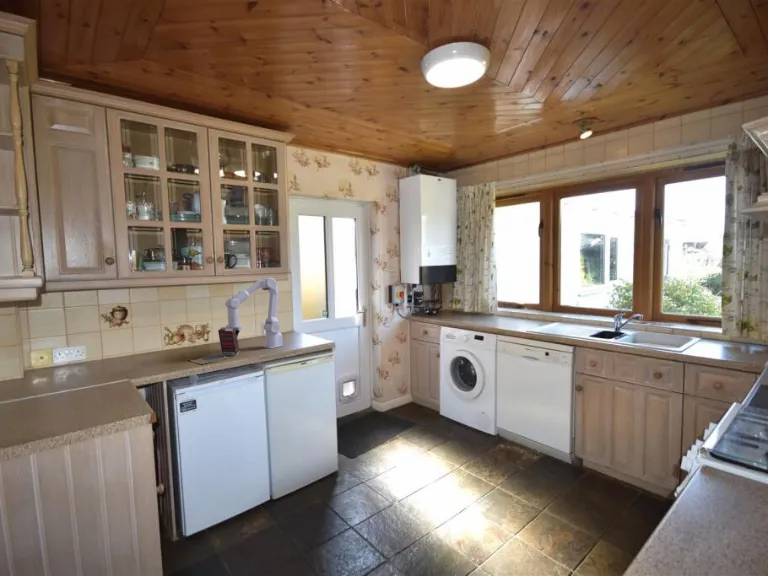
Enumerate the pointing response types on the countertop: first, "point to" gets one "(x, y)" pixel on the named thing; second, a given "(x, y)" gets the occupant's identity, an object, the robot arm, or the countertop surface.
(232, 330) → the supplement box
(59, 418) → the countertop surface
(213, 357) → the mat
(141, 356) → the countertop surface
